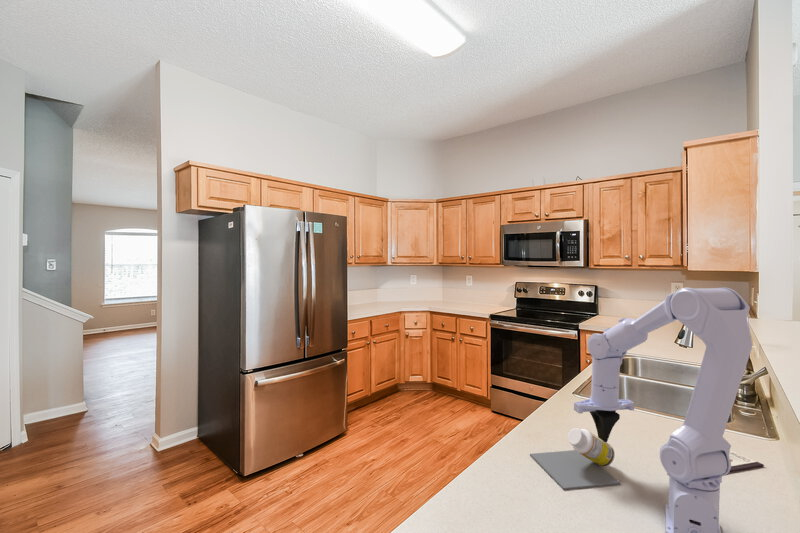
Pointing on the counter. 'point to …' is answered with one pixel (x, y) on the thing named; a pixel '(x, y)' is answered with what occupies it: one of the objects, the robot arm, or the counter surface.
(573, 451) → the mat
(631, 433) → the counter surface
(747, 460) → the chocolate bar
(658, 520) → the counter surface
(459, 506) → the counter surface
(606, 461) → the supplement bottle
